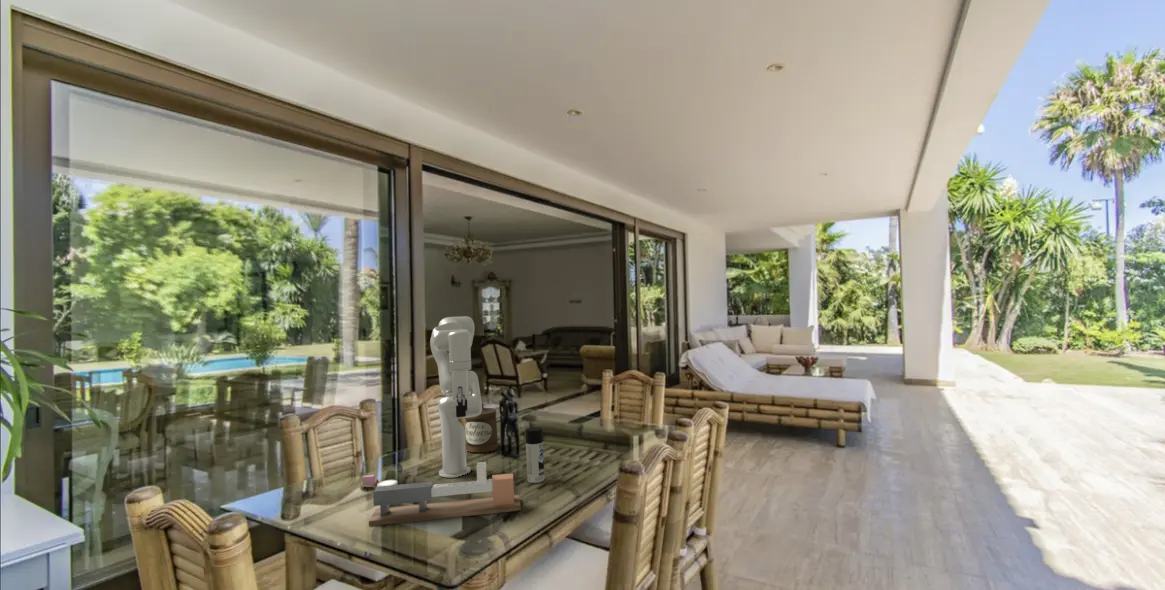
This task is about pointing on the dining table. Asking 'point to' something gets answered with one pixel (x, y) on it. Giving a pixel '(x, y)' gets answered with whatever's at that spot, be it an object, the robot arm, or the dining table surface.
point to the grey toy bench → (402, 495)
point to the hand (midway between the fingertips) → (462, 413)
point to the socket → (503, 489)
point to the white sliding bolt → (465, 485)
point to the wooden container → (481, 431)
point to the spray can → (534, 455)
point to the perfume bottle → (370, 480)
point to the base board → (442, 511)
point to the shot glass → (387, 483)
